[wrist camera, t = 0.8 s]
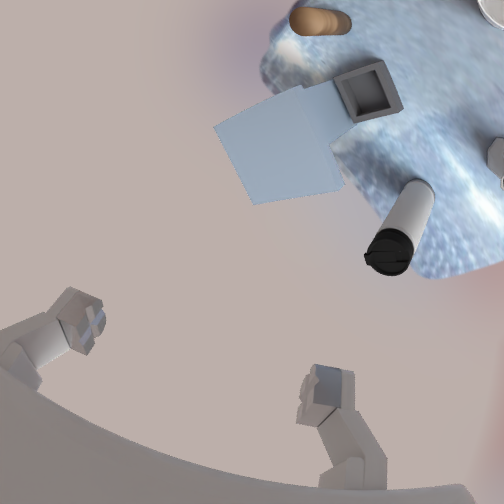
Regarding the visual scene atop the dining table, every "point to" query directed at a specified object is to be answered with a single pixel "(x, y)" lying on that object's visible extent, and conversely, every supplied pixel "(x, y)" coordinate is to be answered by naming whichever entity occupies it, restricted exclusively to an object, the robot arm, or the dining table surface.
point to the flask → (496, 159)
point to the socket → (369, 92)
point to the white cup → (493, 12)
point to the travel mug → (401, 230)
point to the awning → (288, 143)
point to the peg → (319, 22)
